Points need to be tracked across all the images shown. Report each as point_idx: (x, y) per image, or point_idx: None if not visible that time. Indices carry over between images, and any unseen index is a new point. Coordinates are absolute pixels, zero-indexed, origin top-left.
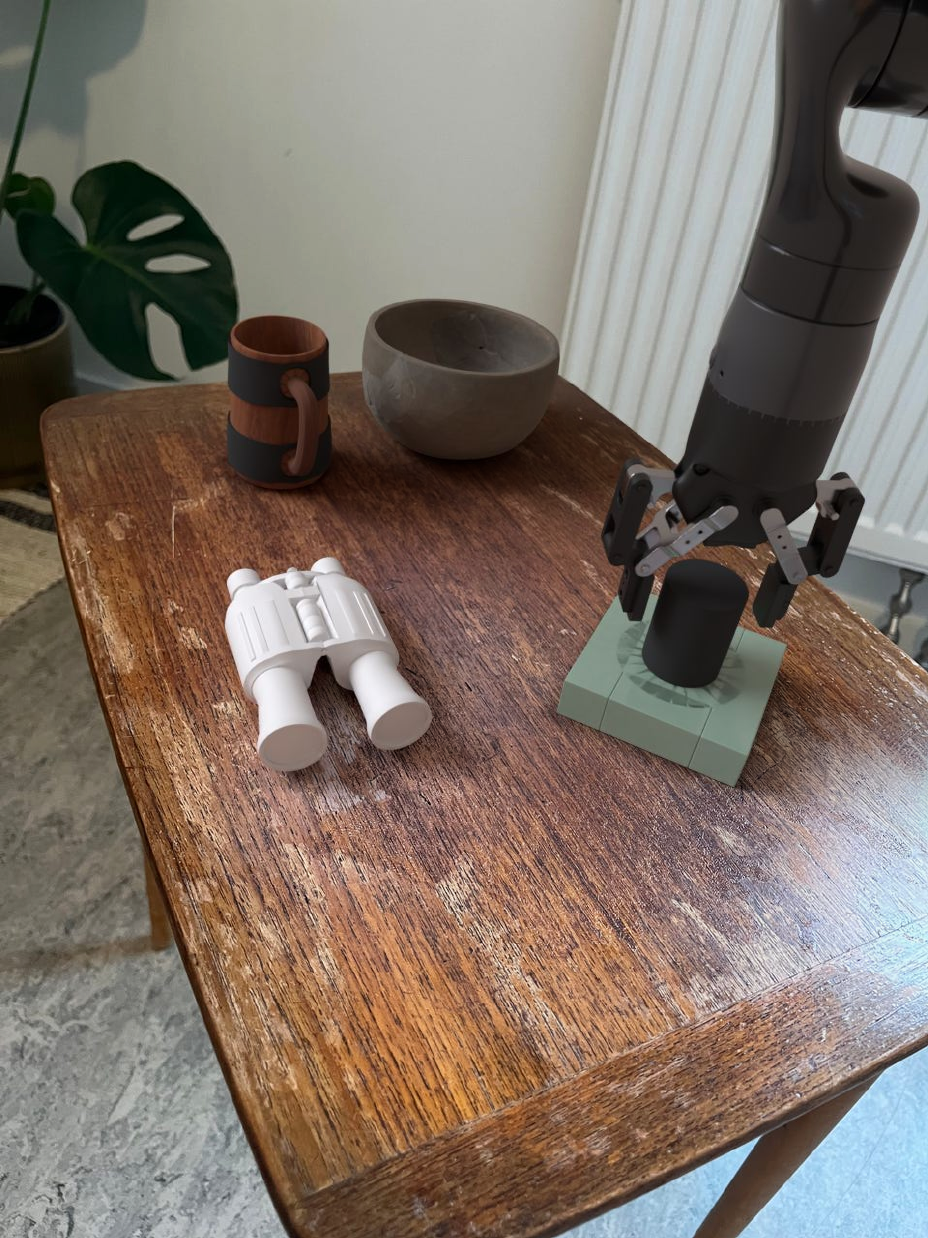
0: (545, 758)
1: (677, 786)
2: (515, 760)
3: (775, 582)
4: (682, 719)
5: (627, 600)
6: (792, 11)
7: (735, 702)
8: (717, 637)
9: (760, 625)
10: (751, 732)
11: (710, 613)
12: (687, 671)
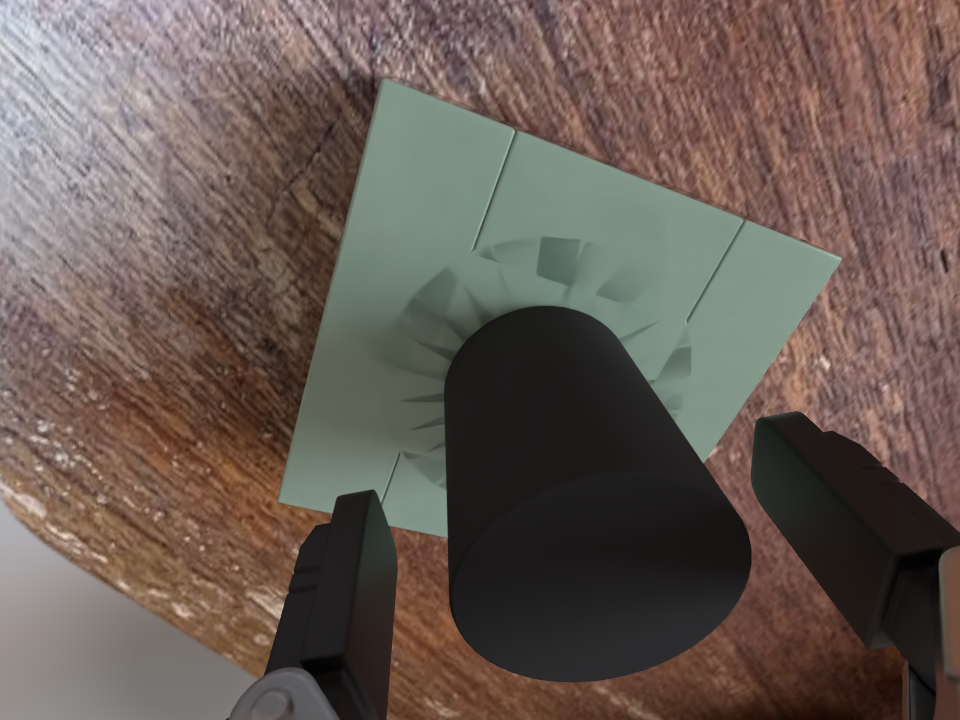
0: (835, 75)
1: (531, 50)
2: (908, 51)
3: (360, 656)
4: (561, 183)
5: (864, 463)
6: None
7: (409, 285)
8: (529, 406)
9: (375, 496)
10: (370, 180)
11: (614, 459)
12: (557, 327)
